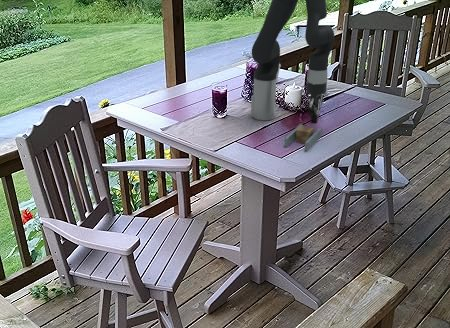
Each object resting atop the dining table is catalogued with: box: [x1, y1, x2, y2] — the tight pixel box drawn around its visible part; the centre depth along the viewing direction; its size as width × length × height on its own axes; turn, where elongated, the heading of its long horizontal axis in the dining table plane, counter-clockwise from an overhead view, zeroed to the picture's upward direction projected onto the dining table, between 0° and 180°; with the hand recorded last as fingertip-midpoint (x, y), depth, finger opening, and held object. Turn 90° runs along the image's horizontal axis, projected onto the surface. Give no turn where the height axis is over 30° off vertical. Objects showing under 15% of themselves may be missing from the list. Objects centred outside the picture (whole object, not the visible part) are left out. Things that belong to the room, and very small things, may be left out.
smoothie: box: [276, 63, 282, 84], centre depth 259 cm, size 6×6×14 cm
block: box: [295, 125, 314, 145], centre depth 197 cm, size 5×5×5 cm
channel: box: [283, 123, 323, 153], centre depth 197 cm, size 9×16×4 cm, turn 152°
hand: (314, 122), depth 203 cm, fingers closed
